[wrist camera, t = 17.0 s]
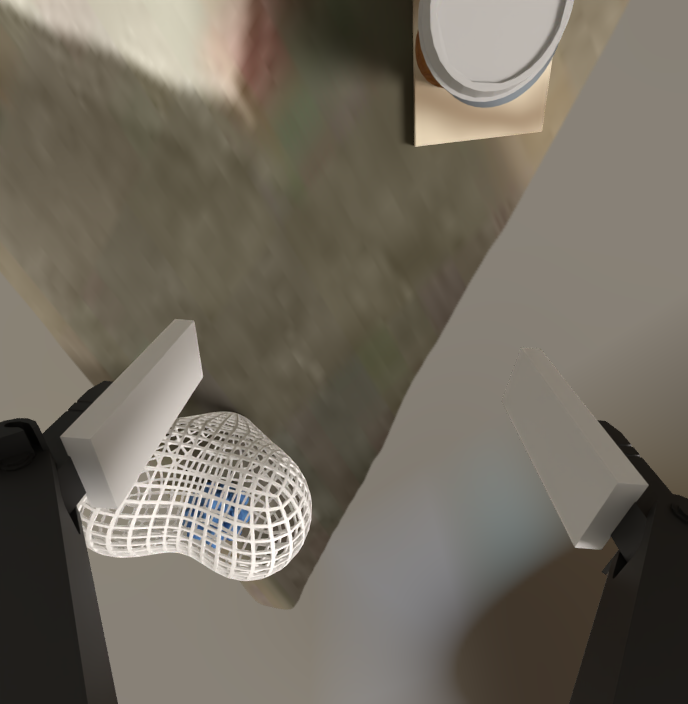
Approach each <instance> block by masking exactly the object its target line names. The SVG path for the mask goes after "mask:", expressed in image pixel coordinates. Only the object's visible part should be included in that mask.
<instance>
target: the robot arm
mask: <svg viewBox="0 0 688 704" xmlns="http://www.w3.org/2000/svg"><path fill="white" fill-rule="evenodd" d="M202 378H203V374H202V367H201V361H200V354H199V348H198V342H197V335H196V329H195V323H194V321H193V320H181V319H175V320H174V321H173V322H172V323H171V324H170V325H169V326H168V327H167V328H166V329H165V330H164V331H163V332H162V333H161V334H160V335H159V336H158V337H157V338H156V339H155V340H154V341H153V342H152V343H151V344H150V345H149V346H148V347H147V348H146V349H145V350H144V351H143V352H142V353H141V354H140V355H139V356H138V357H137V358H136V359H135V361H134V362H133V363H132V364H131V365H130V366H129V367H128V368H127V369H126V370H125V371H124V372H123V373H122V374H121V375H120V376H119V377H118V378H117V379H116V380H115V381H114V382H110V381H103V382H102V383H100V384H98V385H96V386H94V387H93V388H91V389H89V390H88V391H87V392H86V393H85V394H84V395H83V396H82V397H80V399H79V400H78V401H77V403H74V404H73V405H72V406H71V407H70V408H69V409H68V412H65V413H64V414H63V415H62V416H61V417H60V418H59V419H58V420H57V421H55V423H53V424H52V425H51V426H50V427H49V428H48V429H47V430H46V431H45V432H44V433H43V434H42V433H41V431H40V428H39V426H38V425H37V423H36V422H35V421H33V420H30V419H26V418H25V419H24V418H21V419H20V418H17V419H12V420H7V421H3V422H0V704H118V702H117V697H116V692H115V687H114V682H113V677H112V672H111V667H110V662H109V657H108V652H107V647H106V642H105V637H104V632H103V627H102V622H101V617H100V612H99V607H98V603H97V597H96V592H95V587H94V582H93V577H92V572H91V567H90V562H89V557H88V552H87V547H86V542H85V537H84V532H83V527H82V522H81V517H80V512H79V510H78V508H77V504H78V503H79V502H80V500H81V499H82V498H83V496H84V495H85V494H86V496H87V499H88V501H89V503H90V505H91V507H95V508H107V509H118V508H119V507H120V505H121V504H122V502H123V501H124V499H125V498H126V496H127V494H128V493H129V491H130V490H131V488H132V487H133V485H134V484H135V482H136V480H137V479H138V477H139V476H140V474H141V473H142V471H143V469H144V468H145V466H146V465H147V463H148V462H149V460H150V459H151V457H152V455H153V454H154V452H155V451H156V449H157V448H158V446H159V445H160V443H161V441H162V440H163V438H164V437H165V435H166V434H167V432H168V431H169V429H170V427H171V426H172V424H173V423H174V421H175V420H176V418H177V417H178V415H179V413H180V412H181V410H182V409H183V407H184V406H185V404H186V403H187V401H188V399H189V398H190V396H191V395H192V393H193V392H194V390H195V389H196V387H197V385H198V384H199V382H200V381H201V379H202ZM502 403H503V405H504V407H505V409H506V411H507V413H508V415H509V417H510V419H511V421H512V423H513V425H514V427H515V429H516V431H517V433H518V435H519V437H520V439H521V441H522V443H523V445H524V447H525V449H526V451H527V453H528V455H529V457H530V459H531V461H532V463H533V465H534V467H535V469H536V471H537V473H538V475H539V477H540V479H541V481H542V483H543V485H544V487H545V489H546V491H547V493H548V495H549V497H550V499H551V501H552V503H553V505H554V507H555V509H556V511H557V513H558V515H559V517H560V519H561V521H562V523H563V525H564V527H565V529H566V531H567V533H568V535H569V537H570V539H571V541H572V543H573V545H574V547H576V548H588V549H600V550H601V549H602V548H603V547H604V545H605V544H606V543H607V541H608V540H609V539H610V537H612V538H613V540H614V542H615V544H616V545H617V547H618V549H619V550H618V551H617V553H616V554H615V555H614V557H613V558H612V559H611V560H610V562H609V563H608V564H607V566H606V567H605V568H604V569H603V571H602V572H603V573H604V574H607V573H608V572H609V573H608V576H607V579H606V583H605V587H604V589H603V593H602V596H601V599H600V603H599V606H598V609H597V613H596V616H595V620H594V623H593V626H592V630H591V633H590V636H589V639H588V643H587V646H586V649H585V653H584V656H583V659H582V663H581V666H580V670H579V673H578V676H577V680H576V683H575V686H574V689H573V693H572V696H571V699H570V703H569V704H688V499H687V498H685V497H682V496H680V495H675V494H672V493H671V491H670V490H669V489H668V488H667V487H666V485H665V484H664V483H663V482H662V481H661V480H660V478H659V477H658V476H657V475H656V474H655V472H654V471H653V470H652V469H651V468H650V466H649V465H648V464H647V463H646V462H645V460H644V459H643V458H640V455H639V453H638V452H637V451H636V450H635V449H634V448H633V447H631V444H630V443H629V442H628V440H627V439H626V438H625V437H624V436H623V434H622V433H621V432H620V431H618V430H617V429H616V428H614V427H613V426H612V425H610V424H609V423H608V422H606V421H599V420H597V419H596V418H595V417H594V416H593V415H592V413H591V412H590V411H589V409H588V408H587V407H586V406H585V404H584V403H583V402H582V401H581V399H580V398H579V397H578V396H577V394H576V393H575V392H574V390H573V389H572V388H571V387H570V385H569V384H568V383H567V382H566V380H565V379H564V378H563V377H562V376H561V374H560V373H559V372H558V370H557V369H556V368H555V367H554V365H553V364H552V363H551V362H550V360H549V359H548V358H547V356H546V355H545V354H544V353H543V351H542V350H541V349H538V348H525V347H521V349H520V352H519V354H518V357H517V360H516V363H515V365H514V368H513V371H512V373H511V376H510V379H509V382H508V384H507V387H506V390H505V393H504V395H503V398H502Z"/></svg>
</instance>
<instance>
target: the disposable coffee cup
mask: <svg viewBox="0 0 688 704" xmlns="http://www.w3.org/2000/svg"><path fill="white" fill-rule="evenodd" d="M573 3H574V0H420V2H419V10H418V31H417V36H416V41H415V54H416V61H417V65H418V67H419V69H420V72H421V73H422V75H423V76H424V77H425V79H426V80H427V81H428V82H430V83H431V84H433V85H435V86H437V87H441V88H444V89H446V90H447V91H448V92H449V93H451V94H453V95H455V96H457V97H459V98H461V99H464V100H468V101H476V102H487V101H493V100H497V99H500V98H503V97H506V96H508V95H510V94H512V93H514V92H515V91H517V90H519V89H520V88H522V87H523V86H524V85H525V84H527V83H528V82H529V81H530V80H532V79H533V77H534V76H535V75H536V74H537V73H538V72H539V71H540V70H541V69H542V68H543V67H544V65H545V64H546V62H547V61H548V60H549V58H550V57H551V55H552V54H553V52H554V50H555V48H556V46H557V44H558V43H559V41H560V39H561V37H562V34H563V32H564V30H565V27H566V25H567V23H568V20H569V17H570V14H571V11H572V7H573Z"/></svg>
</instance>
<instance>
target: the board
mask: <svg viewBox="0 0 688 704" xmlns="http://www.w3.org/2000/svg"><path fill="white" fill-rule="evenodd" d="M419 2H420V0H413V73H414V146H424V145H432V144H441V143H449V142H458V141H466V140H475V139H483V138H492V137H500V136H508V135H517V134H525V133H534V132H542V128H543V121H544V114H545V106H546V99H547V92H548V85H549V78H550V71H551V64H552V57H553V56H554V54H555V51H556V49H557V46H558V44H559V43H558V44H557V46H556V48H555V50H554V52H553V54H552V55H551V57H550V58H549V60H548V61H547V62H546V64H545V65H544V67H543V68H542V69H541V70H540V71H539V72H538V73H537V74H536V75H535V76H534V77H533V79H532V80H530V81H529V82H528V83H527V84H525V85H524V86H523V87H522V88H520V89H519V90H517V91H515V92H514V93H512V94H510V95H508V96H506V97H503V98H500V99H497V100H493V101H487V102H476V101H468V100H464V99H461V98H459V97H457V96H455V95H453V94H451V93H449V92H448V91H447V90H446V89H444V88H441V87H437V86H435V85H433V84H431V83H430V82H428V81H427V80H426V79H425V77H424V76H423V75H422V73H421V72H420V69H419V67H418V65H417V61H416V54H415V41H416V36H417V31H418V10H419Z"/></svg>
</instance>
